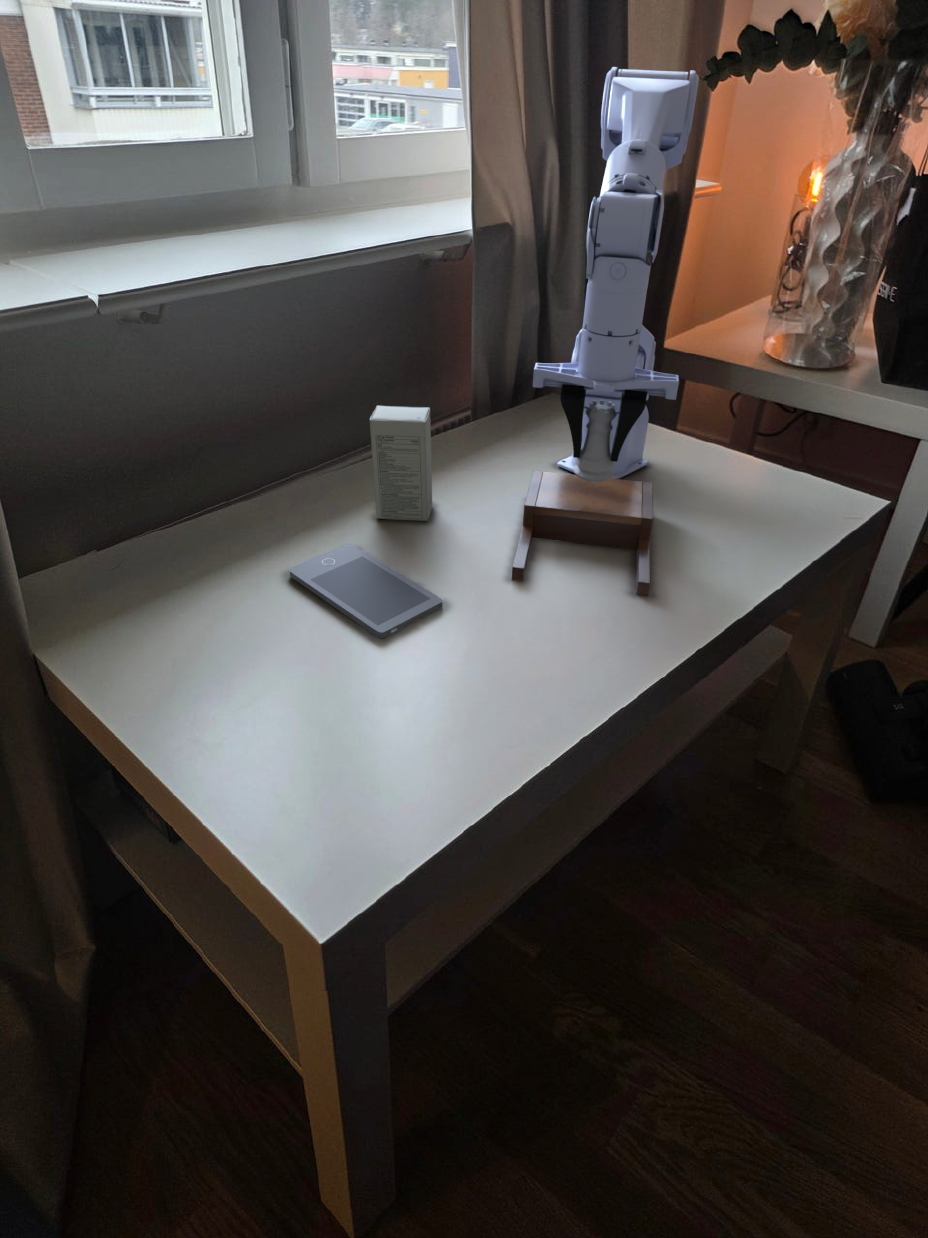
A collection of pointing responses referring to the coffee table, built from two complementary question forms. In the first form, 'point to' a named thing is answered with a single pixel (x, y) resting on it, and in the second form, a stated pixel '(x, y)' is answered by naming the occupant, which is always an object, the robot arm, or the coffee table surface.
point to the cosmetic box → (402, 462)
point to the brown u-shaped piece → (588, 517)
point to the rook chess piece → (597, 444)
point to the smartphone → (366, 590)
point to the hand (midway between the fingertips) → (595, 455)
